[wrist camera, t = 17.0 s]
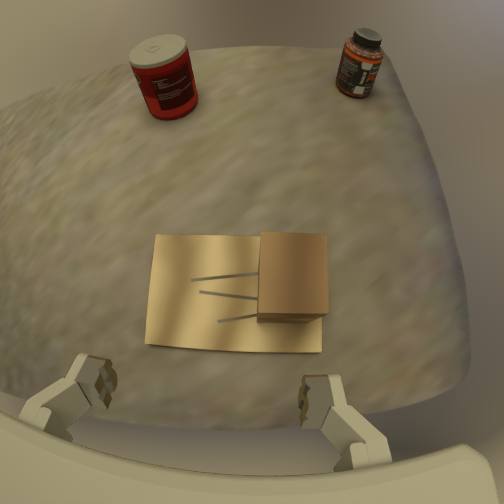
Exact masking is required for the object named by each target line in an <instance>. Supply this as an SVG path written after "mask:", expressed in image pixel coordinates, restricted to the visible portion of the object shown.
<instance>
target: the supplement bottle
mask: <svg viewBox="0 0 504 504" xmlns="http://www.w3.org/2000/svg"><path fill="white" fill-rule="evenodd" d="M381 41H382V37H381V35H380V34H379V33H377V32H376V31H374V30H371V29H369V28H364V27H358V28H356V29H355V32H354V34H353V37H350V38H348V39H347V40H346V41H345V44H344V48H343V52H342V56H341V60H340V65H339V69H338V73H337V77H336V84H337V87H338V88H339V89H340V90H341V91H342V92H344V93H345V94H347V95H350V96H353V97H365V96H367V95H369V93H370V91H371V90H372V87H373V84H374V81H375V78H376V75H377V73H378V70H379V67H380V65H381V61H382V59H383V55H384V53H383V50H382V48H381V47H380V45H381Z"/></svg>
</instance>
